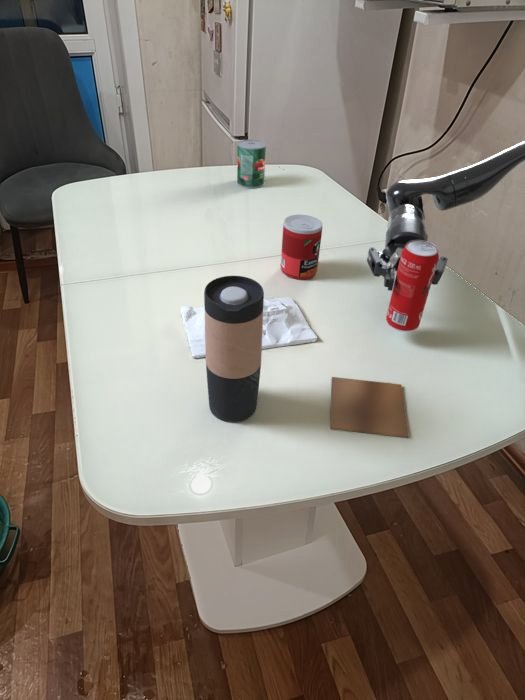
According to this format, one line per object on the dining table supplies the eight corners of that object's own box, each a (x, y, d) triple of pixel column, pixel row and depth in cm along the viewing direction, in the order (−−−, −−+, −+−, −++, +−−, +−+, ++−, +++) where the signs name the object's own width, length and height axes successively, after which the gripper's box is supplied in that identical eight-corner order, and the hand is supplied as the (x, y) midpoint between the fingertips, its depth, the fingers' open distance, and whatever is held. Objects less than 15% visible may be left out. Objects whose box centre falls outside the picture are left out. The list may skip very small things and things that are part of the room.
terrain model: (172, 319, 94) (168, 296, 91) (284, 292, 101) (285, 270, 98) (198, 373, 82) (196, 349, 79) (324, 339, 89) (326, 315, 86)
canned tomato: (266, 188, 144) (267, 148, 137) (238, 188, 143) (238, 148, 136) (262, 178, 150) (263, 139, 144) (235, 178, 149) (236, 139, 143)
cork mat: (401, 386, 81) (401, 384, 81) (408, 438, 72) (408, 436, 72) (331, 378, 82) (331, 376, 81) (330, 429, 73) (330, 427, 73)
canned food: (304, 284, 104) (309, 234, 97) (272, 271, 108) (275, 222, 101) (324, 270, 109) (330, 221, 102) (293, 258, 112) (297, 210, 106)
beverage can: (419, 336, 87) (448, 260, 77) (381, 329, 87) (405, 253, 77) (417, 315, 91) (444, 241, 81) (380, 309, 92) (404, 234, 82)
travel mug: (236, 381, 80) (238, 268, 68) (269, 407, 76) (277, 293, 63) (197, 402, 76) (190, 287, 64) (229, 432, 72) (229, 314, 59)
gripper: (440, 263, 96) (446, 314, 83) (364, 253, 98) (358, 301, 85) (451, 226, 92) (459, 273, 78) (371, 217, 94) (365, 261, 80)
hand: (406, 287), depth 82 cm, fingers closed on beverage can, 4 cm apart
